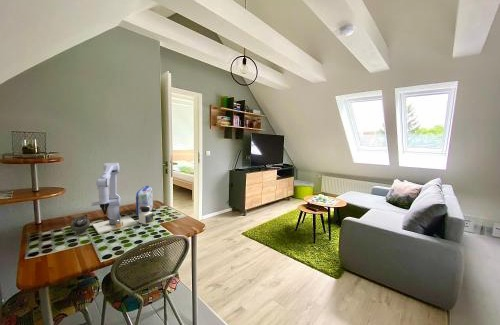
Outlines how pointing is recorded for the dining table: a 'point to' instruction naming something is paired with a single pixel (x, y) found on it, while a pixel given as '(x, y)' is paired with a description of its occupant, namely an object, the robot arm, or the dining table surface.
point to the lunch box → (144, 199)
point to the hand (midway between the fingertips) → (105, 214)
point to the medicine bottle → (145, 215)
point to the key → (115, 222)
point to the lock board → (105, 226)
